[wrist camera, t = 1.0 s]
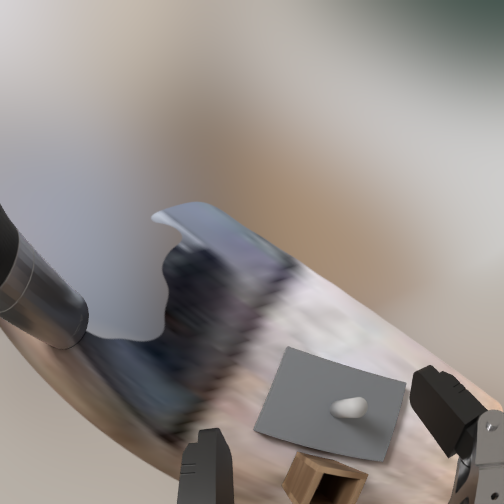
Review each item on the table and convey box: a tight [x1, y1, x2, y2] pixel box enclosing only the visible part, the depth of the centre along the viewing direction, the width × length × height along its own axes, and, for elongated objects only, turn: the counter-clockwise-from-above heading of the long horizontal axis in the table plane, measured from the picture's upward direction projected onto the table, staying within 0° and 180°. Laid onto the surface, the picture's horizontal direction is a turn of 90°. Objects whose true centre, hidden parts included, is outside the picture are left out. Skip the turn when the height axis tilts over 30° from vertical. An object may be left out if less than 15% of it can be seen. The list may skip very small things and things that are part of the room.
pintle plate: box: [253, 346, 406, 462], centre depth 27 cm, size 17×11×8 cm, turn 68°
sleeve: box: [282, 451, 368, 504], centre depth 21 cm, size 5×5×10 cm
